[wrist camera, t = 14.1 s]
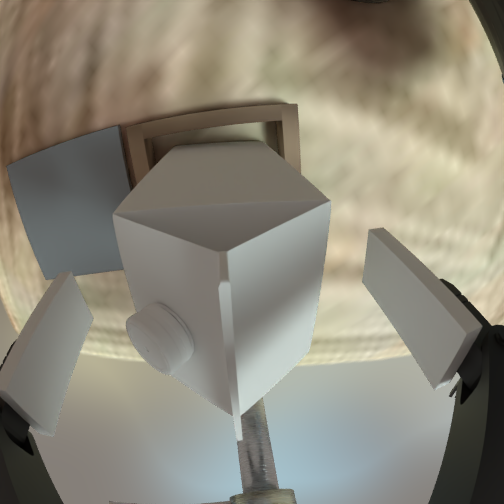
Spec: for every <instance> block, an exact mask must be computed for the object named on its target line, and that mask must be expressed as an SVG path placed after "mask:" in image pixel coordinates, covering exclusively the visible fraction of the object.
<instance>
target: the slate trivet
mask: <svg viewBox="0 0 504 504" xmlns="http://www.w3.org/2000/svg"><path fill="white" fill-rule="evenodd" d="M7 171H8V175H9V179H10V183H11V186H12V190H13V194H14V197H15V200H16V204H17V207H18V210H19V213H20V216H21V219H22V222H23V225H24V228H25V231H26V233H27V236H28V239H29V241H30V244H31V246H32V249H33V251H34V254H35V256H36V259H37V261H38V263H39V266H40V268H41V270H42V272H43V275H44V277H45V279H46V280H49V279H55V278H56V276H57V275H58V274H59V273H62V272H69V271H72V273H73V276H79V275H86V274H94V273H101V272H109V271H116V270H123V269H124V267H123V264H122V260H121V256H120V252H119V247H118V243H117V238H116V234H115V228H114V223H113V213H114V211H115V210H116V209H117V207H118V206H119V205H120V204H121V203H122V201H123V200H124V199H125V198H126V197H127V196H128V195H129V193H130V192H131V191H132V185H131V181H130V176H129V172H128V167H127V162H126V157H125V151H124V146H123V140H122V135H121V129H120V125H118V126H114V127H110V128H107V129H103V130H100V131H97V132H93V133H90V134H87V135H84V136H81V137H78V138H75V139H72V140H69V141H66V142H63V143H60V144H58V145H55V146H52V147H50V148H47V149H45V150H42V151H40V152H37V153H35V154H32V155H30V156H28V157H25V158H23V159H21V160H18V161H16V162H14V163H12V164H10V165H8V166H7Z"/></svg>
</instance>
